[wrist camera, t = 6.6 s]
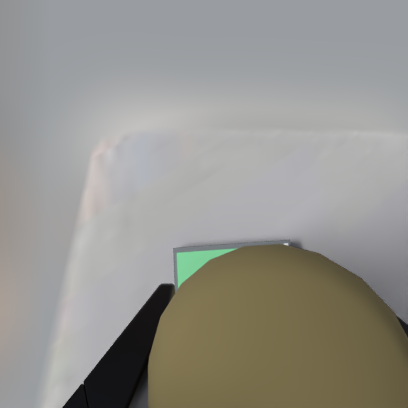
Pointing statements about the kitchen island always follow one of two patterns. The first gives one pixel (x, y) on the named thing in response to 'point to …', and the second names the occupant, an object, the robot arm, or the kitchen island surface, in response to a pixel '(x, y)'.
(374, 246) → the kitchen island surface
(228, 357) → the cork
